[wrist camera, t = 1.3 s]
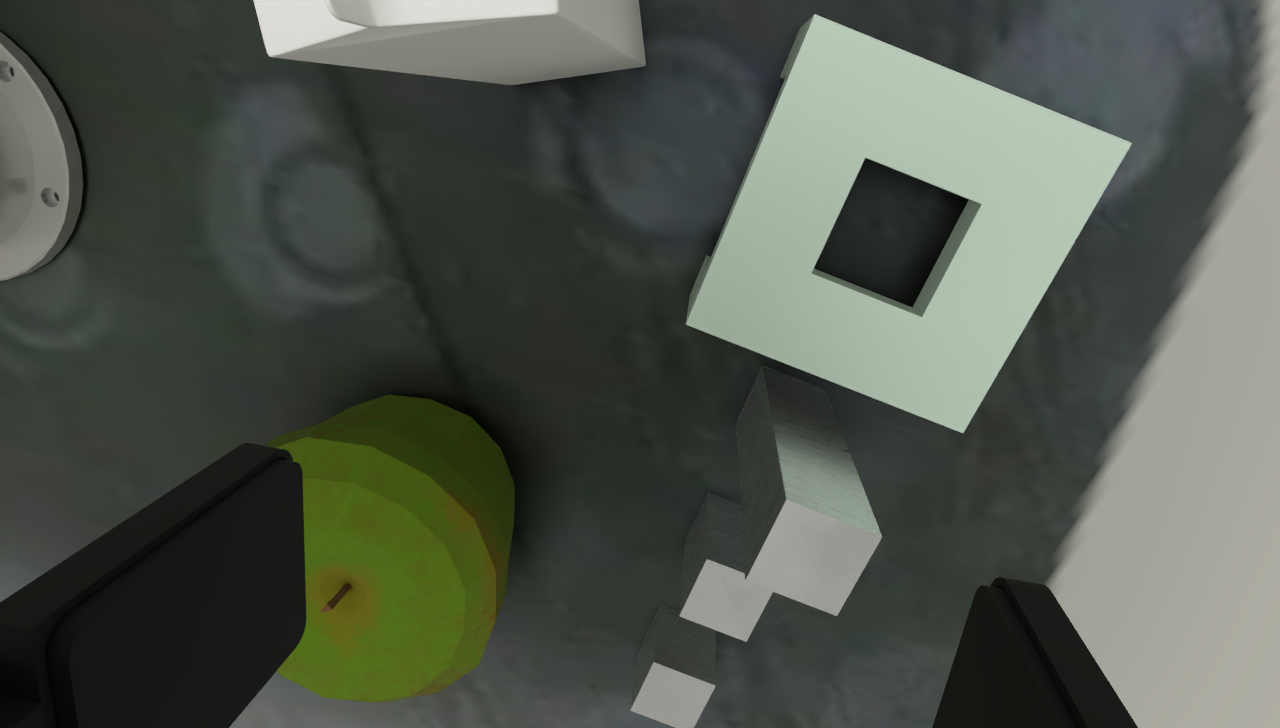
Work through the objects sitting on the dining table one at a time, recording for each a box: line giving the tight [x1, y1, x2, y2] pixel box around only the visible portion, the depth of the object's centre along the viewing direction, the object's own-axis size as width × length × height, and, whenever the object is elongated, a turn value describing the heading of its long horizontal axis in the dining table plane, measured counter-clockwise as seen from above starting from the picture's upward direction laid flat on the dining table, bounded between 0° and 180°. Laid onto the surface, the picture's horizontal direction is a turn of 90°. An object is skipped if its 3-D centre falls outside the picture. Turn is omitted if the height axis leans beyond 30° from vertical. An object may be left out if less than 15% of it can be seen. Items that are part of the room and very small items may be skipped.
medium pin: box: [679, 492, 773, 642], centre depth 36 cm, size 3×3×6 cm
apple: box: [265, 395, 515, 702], centre depth 34 cm, size 12×12×11 cm
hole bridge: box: [686, 14, 1132, 433], centre depth 31 cm, size 12×12×5 cm
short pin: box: [630, 604, 716, 728], centre depth 39 cm, size 3×3×4 cm
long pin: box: [736, 365, 882, 616], centre depth 30 cm, size 3×3×13 cm
